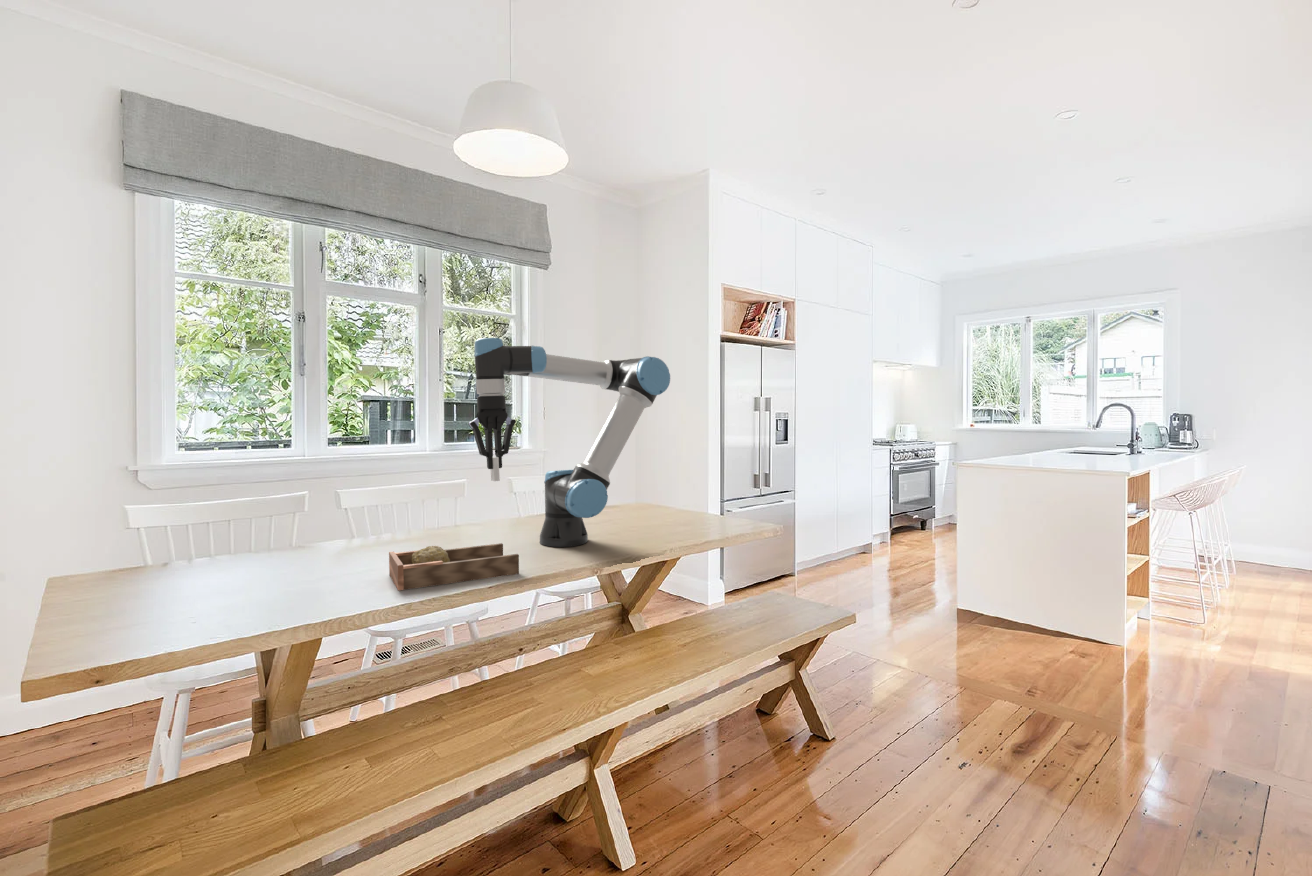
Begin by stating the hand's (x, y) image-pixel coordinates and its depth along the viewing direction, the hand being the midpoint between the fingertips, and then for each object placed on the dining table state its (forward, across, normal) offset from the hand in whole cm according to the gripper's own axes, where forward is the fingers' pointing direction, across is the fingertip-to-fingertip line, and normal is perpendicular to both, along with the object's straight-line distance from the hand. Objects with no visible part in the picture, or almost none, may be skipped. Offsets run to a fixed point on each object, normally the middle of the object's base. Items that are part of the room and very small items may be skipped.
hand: (495, 480), depth 172 cm
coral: (+22, +20, +6) cm, 31 cm away
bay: (+22, +14, +7) cm, 27 cm away
